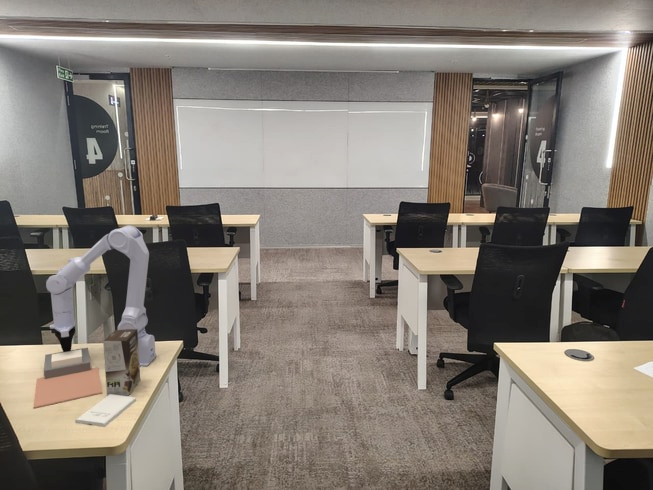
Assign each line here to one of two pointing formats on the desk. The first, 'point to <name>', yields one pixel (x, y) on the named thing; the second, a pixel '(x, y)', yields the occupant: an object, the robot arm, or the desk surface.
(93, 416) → the external hard drive
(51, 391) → the mat
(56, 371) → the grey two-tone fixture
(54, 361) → the tile
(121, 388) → the coffee box
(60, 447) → the desk surface
